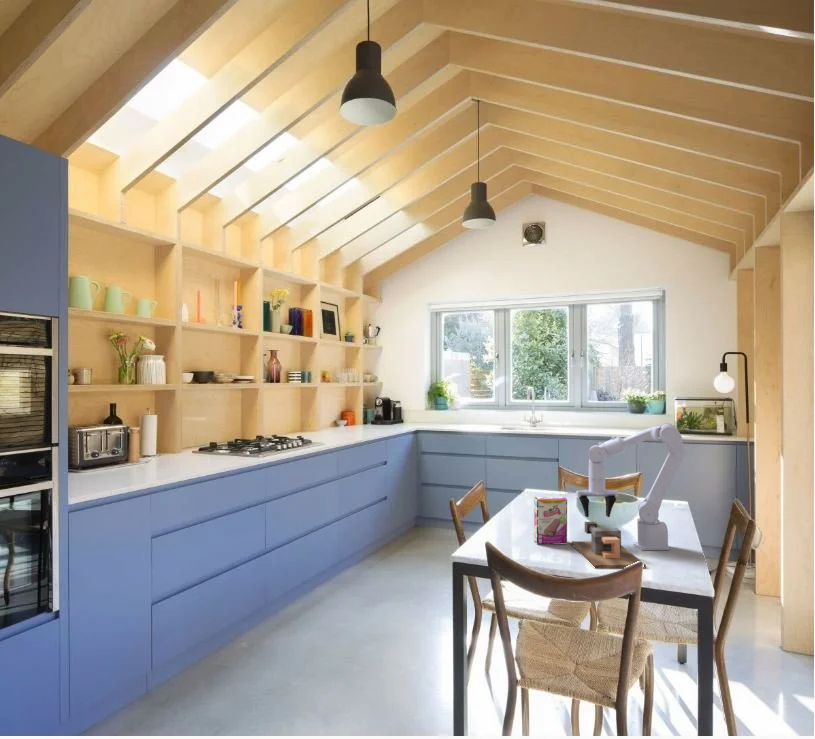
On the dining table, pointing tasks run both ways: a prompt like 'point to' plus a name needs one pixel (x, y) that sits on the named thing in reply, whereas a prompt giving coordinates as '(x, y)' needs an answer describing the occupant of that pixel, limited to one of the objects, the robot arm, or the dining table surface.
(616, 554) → the spacer
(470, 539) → the dining table surface
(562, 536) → the candy bar box
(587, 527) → the shaft
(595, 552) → the bearing stand
